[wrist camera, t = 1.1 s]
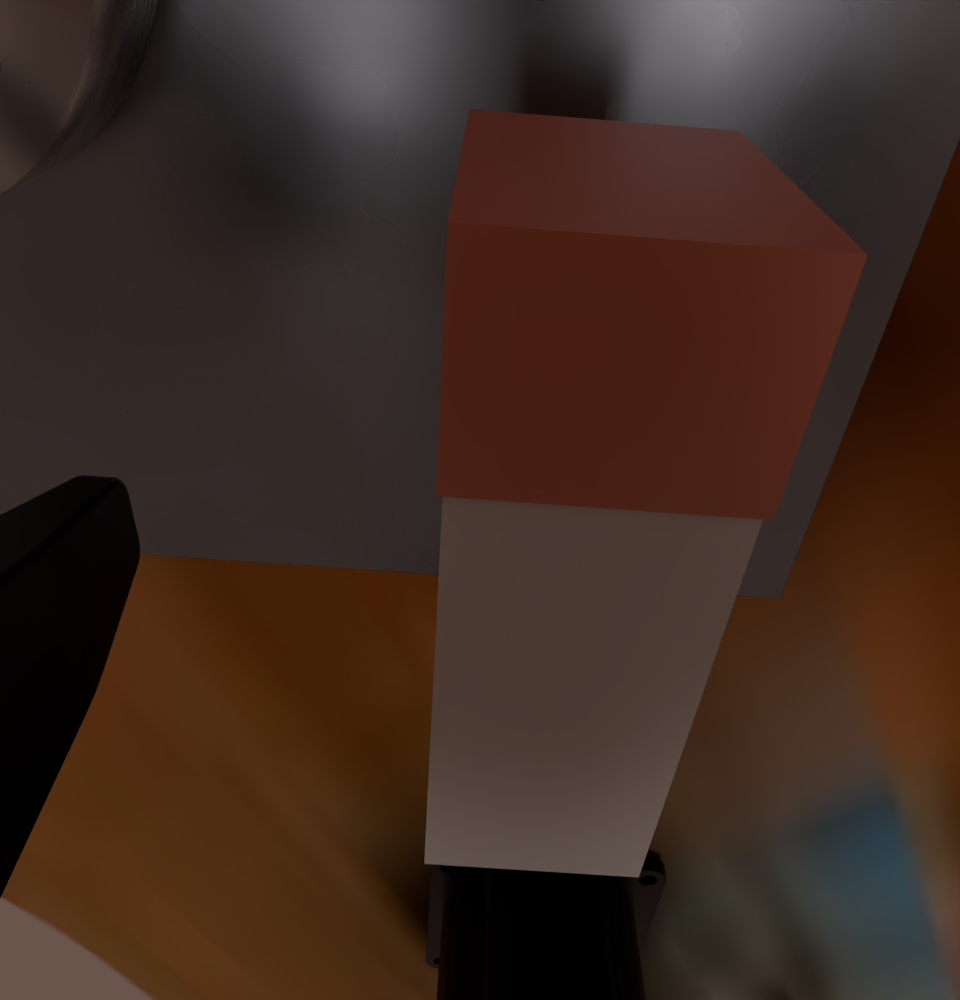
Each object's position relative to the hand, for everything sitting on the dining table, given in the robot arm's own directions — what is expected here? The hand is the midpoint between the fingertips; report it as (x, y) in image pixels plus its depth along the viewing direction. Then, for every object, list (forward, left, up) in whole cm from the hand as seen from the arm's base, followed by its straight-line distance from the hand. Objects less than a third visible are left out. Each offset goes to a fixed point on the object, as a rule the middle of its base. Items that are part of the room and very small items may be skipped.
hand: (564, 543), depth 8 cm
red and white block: (0, 0, -5) cm, 5 cm away
